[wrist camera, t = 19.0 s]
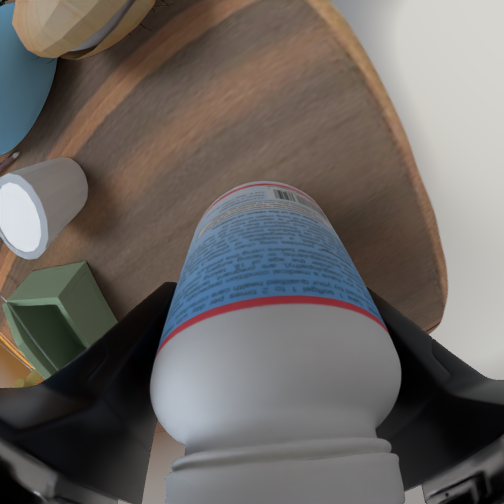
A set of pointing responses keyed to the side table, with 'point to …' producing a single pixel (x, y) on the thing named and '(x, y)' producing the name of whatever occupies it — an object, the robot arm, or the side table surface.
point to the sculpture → (76, 25)
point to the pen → (8, 160)
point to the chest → (62, 311)
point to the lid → (28, 351)
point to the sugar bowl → (20, 83)
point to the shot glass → (40, 204)
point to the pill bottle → (275, 362)
